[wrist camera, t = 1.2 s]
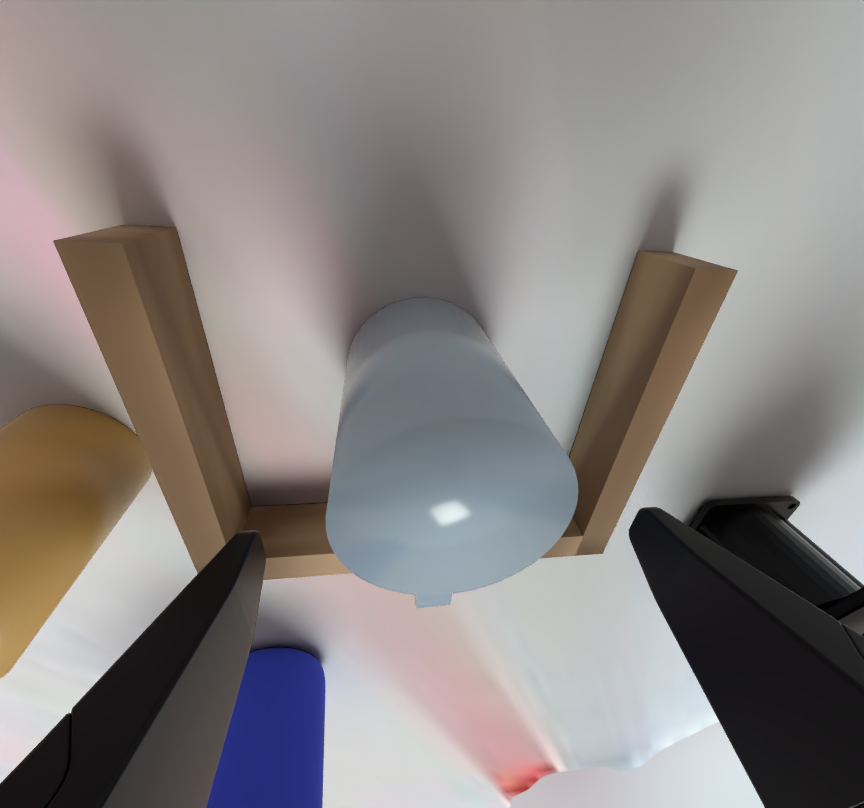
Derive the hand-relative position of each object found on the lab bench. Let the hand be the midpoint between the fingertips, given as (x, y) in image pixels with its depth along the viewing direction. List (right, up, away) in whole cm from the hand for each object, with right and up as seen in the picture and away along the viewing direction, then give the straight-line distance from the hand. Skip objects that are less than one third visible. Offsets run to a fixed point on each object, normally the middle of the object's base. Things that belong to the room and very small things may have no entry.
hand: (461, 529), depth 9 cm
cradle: (-1, +3, +8) cm, 8 cm away
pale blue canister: (-1, +3, +8) cm, 8 cm away
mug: (-14, -16, +18) cm, 28 cm away
